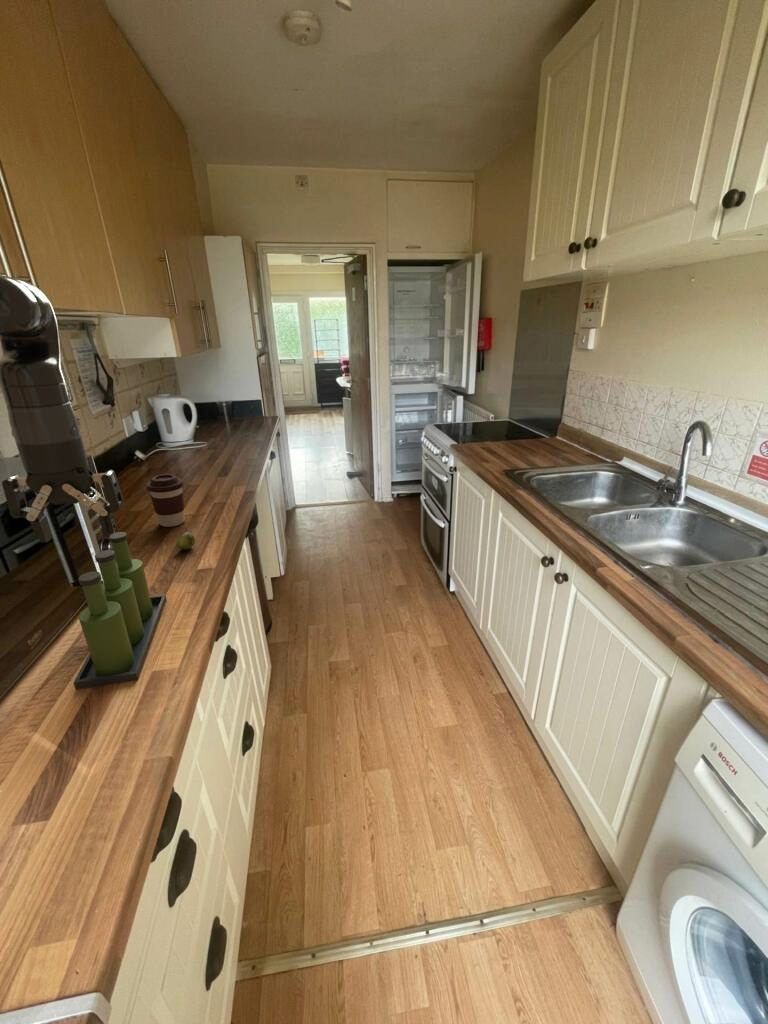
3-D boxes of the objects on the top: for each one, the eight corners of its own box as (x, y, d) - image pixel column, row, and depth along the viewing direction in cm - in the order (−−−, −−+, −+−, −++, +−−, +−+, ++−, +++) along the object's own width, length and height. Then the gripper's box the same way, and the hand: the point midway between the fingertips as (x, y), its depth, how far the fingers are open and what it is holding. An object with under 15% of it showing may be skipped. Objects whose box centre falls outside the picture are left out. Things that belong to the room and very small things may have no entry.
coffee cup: (173, 531, 129) (164, 484, 123) (147, 526, 131) (137, 480, 125) (196, 518, 137) (189, 474, 131) (171, 514, 140) (163, 470, 134)
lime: (177, 553, 116) (174, 537, 114) (181, 545, 121) (178, 529, 119) (194, 552, 117) (191, 536, 115) (198, 544, 122) (195, 528, 120)
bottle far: (115, 618, 89) (92, 538, 82) (141, 603, 94) (121, 526, 87) (134, 627, 87) (112, 545, 79) (159, 611, 92) (141, 532, 84)
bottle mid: (102, 643, 83) (76, 557, 75) (131, 625, 88) (109, 543, 80) (123, 652, 80) (98, 565, 73) (151, 634, 85) (131, 550, 78)
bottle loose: (88, 671, 76) (58, 580, 68) (120, 650, 81) (95, 563, 73) (110, 683, 74) (82, 590, 66) (142, 660, 79) (118, 572, 71)
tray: (138, 682, 75) (136, 673, 74) (76, 692, 72) (73, 682, 71) (167, 602, 96) (165, 594, 95) (119, 608, 94) (117, 600, 93)
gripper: (113, 428, 65) (135, 524, 72) (3, 431, 62) (37, 531, 69) (96, 440, 59) (121, 544, 65) (-28, 444, 55) (12, 553, 62)
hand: (78, 537), depth 67 cm, fingers open, 8 cm apart
